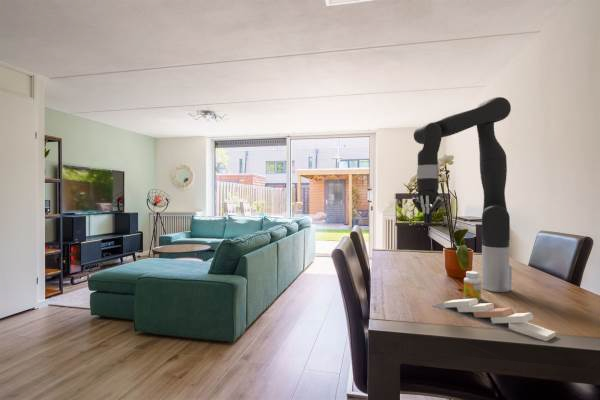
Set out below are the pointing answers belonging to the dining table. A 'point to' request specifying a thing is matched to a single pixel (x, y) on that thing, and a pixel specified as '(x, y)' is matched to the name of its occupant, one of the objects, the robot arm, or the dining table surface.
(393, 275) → the dining table surface
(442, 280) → the dining table surface
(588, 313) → the dining table surface
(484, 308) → the domino
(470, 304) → the domino
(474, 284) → the supplement bottle
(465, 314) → the mat
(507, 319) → the domino
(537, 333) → the domino
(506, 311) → the domino
